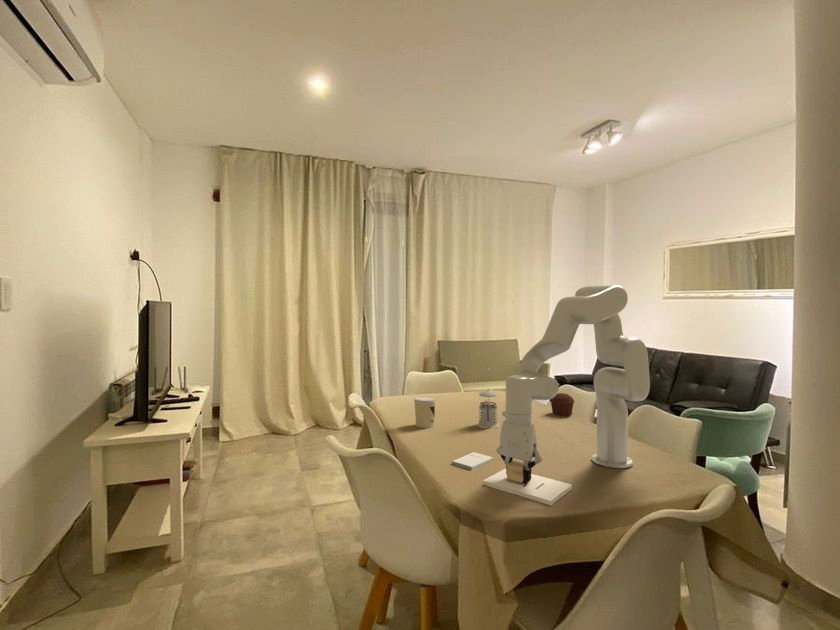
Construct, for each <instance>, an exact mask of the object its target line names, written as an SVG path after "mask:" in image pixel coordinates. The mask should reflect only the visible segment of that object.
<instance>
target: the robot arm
mask: <svg viewBox="0 0 840 630" xmlns="http://www.w3.org/2000/svg"><path fill="white" fill-rule="evenodd" d="M628 301H629V297H628V293H627V291H626V289H625V288H623V287H622V286H621V285H617V284H609V285H590V286H589V285H587V286H584V287H581V288H579V289H577V290H576V291H575V295H574V296H566V297H562V298H561V299H559V300H558V302H557V303H556V305H555V308H554V310H553V312H552V315H551V317H550V320H549V322H548V325H547V327H546V329H545V332H544V334H543V336H542V338H540V340H539V341H538V342H537V343H535V344H534V345H533V346H532V347H531V348H530V349H528V351H527V352H526V353H525V355H523V356H522V359H521V360H520V363H519V365H518V368H517V369H516V372H515V374H514V375H509V376H507V377H506V379H505V410H504V411H502V412H501V415H502V417H504V419H505V420H503V421H502V424H501V431H500V436H499V437H500V438H499V446H497V448H496V453H497V454H498V455H499V456H500V458H501V460H503V463H504V465H506V466H505V468H506V474H507V464H508V463H510V462H511V461H513V460H514V459H519V460H523V461H524V466H525V469H524V470H523V483H524V484H526V483H528V482H529V481H530V480H531V474H532V469H533V468H534V467H535V466H536V465H538V464H540V463H541V462H543V458H542V456H541V455H540V453H539V451H538V446H537V445H538V444H537V433H536V427H535V424H534V423H533V402H532V401H535V400H536V401H549V400H550V399H552V398H554V397H555V396H556V395H557V393H559V390H560V389H559V388H560V387H559V382H558V381H557V379H556V378H555V377H554V376H551V375H550V374H545V373H541V372H539V370H540V368H541V367H542V366H543V364H544V363H546V362H547V361H548V360H550V359H552V358H554V357H557V356H559V355H561V354H563V353H567V351H569V350H570V348H571V346H572V343H573V341H574V339H575V336H576V333H577V331H578V329H579V326H580V325H593V330H594V339H595V340H594V342H595V353H596V357H597V359H598V361H599V362H600V363H603V364H607V365H612V366H619V367H624V368H619V367H611V366H610V367H609V366H608V367H607V366H606V367H603V368H600V369H598V370H597V371H596V372H595V374H594V377H593V387H594V391H595V397H596V399H595V400H596V453H594V454H592V455H591V460H592V462H594V463H595V464H597V465H599V466H602V467H605V468H612V469H628V468H631V467H632V466H633V465H634V461H633V459H632V458H630V456H629V455H628V449H629V445H628V444H629V441H628V440H629V436H628V433H629V431H628V430H629V423H628V422H629V411H628V405H627V403H626V400H627V401H631V402H642V401H644V400H646V399H647V397H648V395H649V393H650V389H651V379H650V364H649V353H648V349H647V346H646V345H645V343H644V342H643V340H642V339H641V338H637V337H634V336H633V337H632V336H625V335H624V333H623V326H622V319H621V318H620V317H621V316H620V314H619V313H620V312H622V311H623V310H624V309H625V308H626V307H627V304H628ZM628 456H629V457H628ZM533 458H534V460H533Z"/></svg>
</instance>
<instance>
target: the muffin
mask: <svg viewBox="0 0 840 630" xmlns="http://www.w3.org/2000/svg"><path fill="white" fill-rule="evenodd" d="M548 401H549V402H550V404H551V411H552V415H553V414H555V415H554V416H556V415H560V416H559V417H562V416H565V417H571V416H570V415H572V414H573V408H574V404H575V402H576V401H575V400H574V398H573V396H571V395H570V394H568V393H564V392H558V393H557V395H556V396H555V397H554V398H552V399H549V400H548ZM572 416H573V415H572Z"/></svg>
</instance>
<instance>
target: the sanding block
mask: <svg viewBox="0 0 840 630" xmlns="http://www.w3.org/2000/svg"><path fill="white" fill-rule="evenodd" d="M524 469H525V466H524V461H523V460H519V459H515V458H513V461H511V462H510V463H508V464H507V481H508V482H512V483H515V484H519V485H522V484H523V470H524Z"/></svg>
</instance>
